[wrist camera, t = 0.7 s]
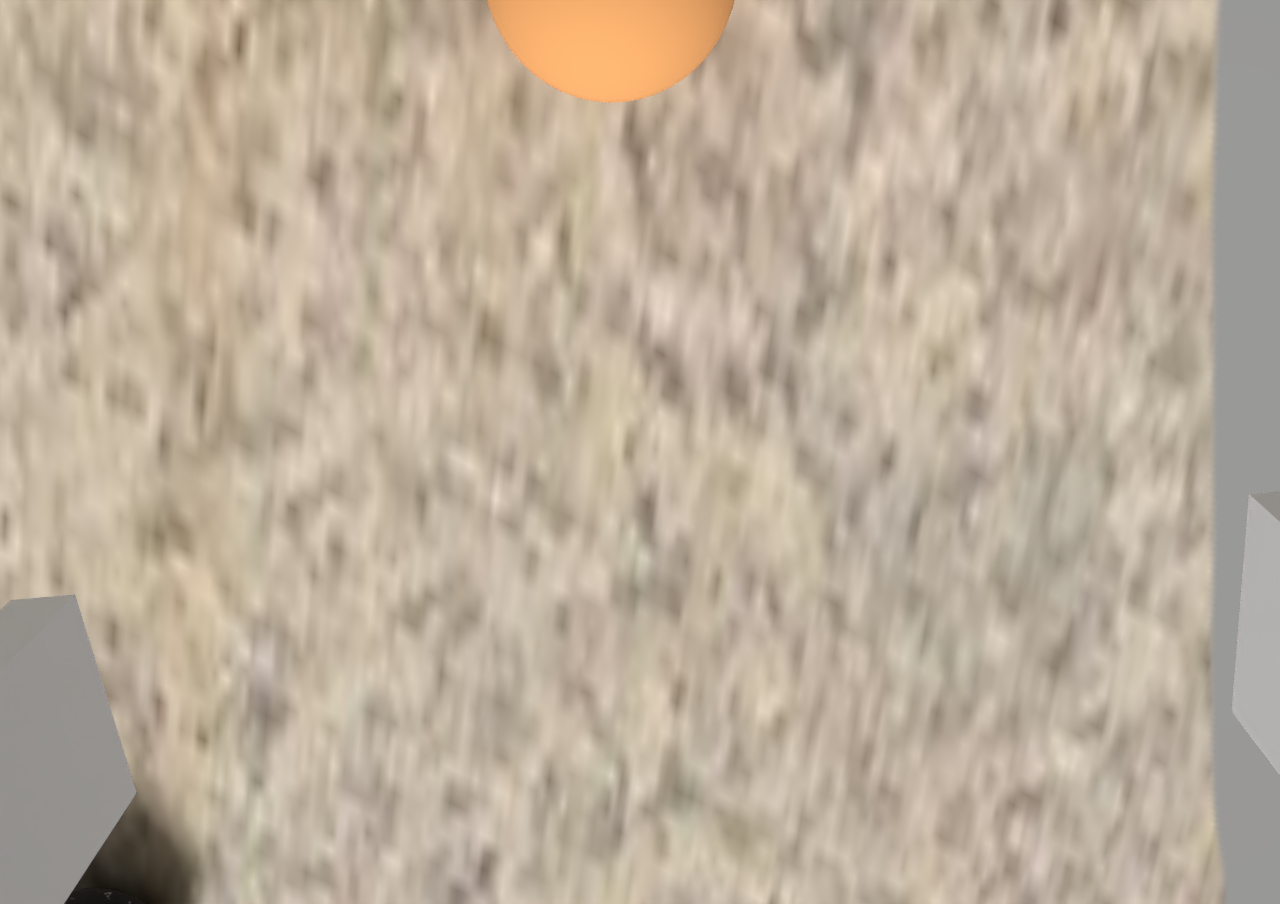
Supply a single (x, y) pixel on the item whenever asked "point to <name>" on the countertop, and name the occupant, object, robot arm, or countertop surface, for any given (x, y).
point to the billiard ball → (100, 897)
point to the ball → (611, 42)
